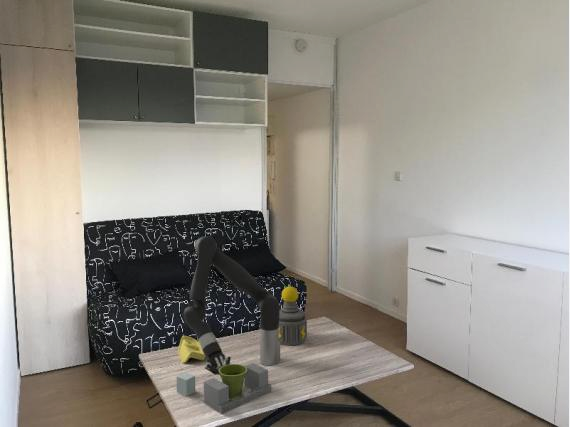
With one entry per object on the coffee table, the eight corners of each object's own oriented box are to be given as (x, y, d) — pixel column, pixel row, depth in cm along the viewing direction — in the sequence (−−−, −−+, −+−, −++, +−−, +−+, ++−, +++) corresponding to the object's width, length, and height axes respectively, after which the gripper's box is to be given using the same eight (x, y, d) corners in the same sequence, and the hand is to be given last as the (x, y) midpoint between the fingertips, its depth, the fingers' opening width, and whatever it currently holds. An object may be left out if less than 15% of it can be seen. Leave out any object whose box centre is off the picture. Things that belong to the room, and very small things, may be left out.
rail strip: (267, 389, 202) (267, 383, 201) (271, 391, 200) (271, 384, 200) (218, 411, 184) (217, 404, 184) (221, 414, 182) (221, 406, 182)
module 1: (185, 387, 204) (185, 372, 204) (195, 391, 201) (195, 375, 200) (176, 392, 200) (176, 376, 200) (186, 396, 197) (186, 380, 196)
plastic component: (207, 355, 233) (189, 350, 228) (201, 369, 233) (183, 364, 228) (197, 339, 251) (180, 334, 246) (192, 352, 250) (174, 347, 246)
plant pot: (246, 402, 191) (246, 375, 190) (217, 402, 191) (216, 376, 190) (248, 388, 203) (247, 363, 202) (220, 388, 203) (220, 363, 202)
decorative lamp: (314, 339, 261) (314, 286, 258) (292, 348, 247) (291, 293, 244) (288, 331, 273) (288, 280, 270) (266, 340, 259) (265, 287, 256)
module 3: (253, 382, 209) (252, 362, 208) (268, 390, 201) (268, 369, 201) (244, 386, 205) (244, 366, 204) (259, 394, 198) (259, 373, 197)
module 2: (214, 398, 194) (213, 377, 193) (228, 407, 187) (228, 385, 186) (203, 402, 191) (203, 381, 190) (218, 412, 184) (218, 390, 183)
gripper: (200, 345, 201) (217, 382, 194) (225, 337, 211) (242, 372, 203) (193, 353, 206) (210, 390, 198) (218, 345, 215) (235, 380, 207)
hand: (226, 381), depth 201 cm, fingers closed
